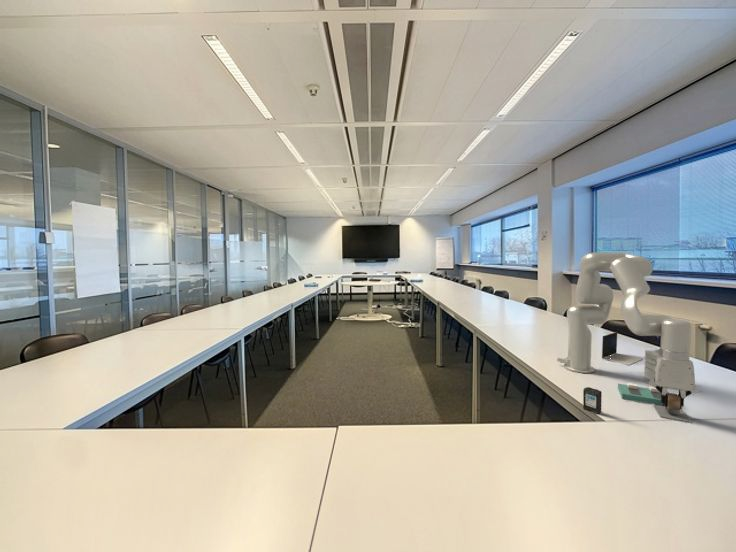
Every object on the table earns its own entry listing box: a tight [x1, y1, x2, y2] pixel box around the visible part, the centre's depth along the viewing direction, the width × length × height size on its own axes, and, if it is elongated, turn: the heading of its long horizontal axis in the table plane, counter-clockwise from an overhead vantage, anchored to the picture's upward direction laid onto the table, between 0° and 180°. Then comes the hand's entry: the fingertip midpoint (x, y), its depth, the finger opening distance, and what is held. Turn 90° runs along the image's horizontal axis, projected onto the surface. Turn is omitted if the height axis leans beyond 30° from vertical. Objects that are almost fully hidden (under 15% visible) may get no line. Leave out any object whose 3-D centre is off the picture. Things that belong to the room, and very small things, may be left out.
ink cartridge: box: [582, 386, 602, 415], centre depth 118 cm, size 5×2×8 cm, turn 32°
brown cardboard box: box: [664, 392, 681, 415], centre depth 115 cm, size 3×4×6 cm
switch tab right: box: [649, 385, 660, 393], centre depth 130 cm, size 3×2×1 cm
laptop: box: [601, 331, 643, 366], centre depth 178 cm, size 18×12×13 cm
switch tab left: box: [627, 382, 639, 389], centre depth 134 cm, size 3×2×1 cm
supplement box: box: [643, 350, 660, 381], centre depth 147 cm, size 7×7×13 cm
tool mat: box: [652, 404, 693, 424], centre depth 116 cm, size 8×10×1 cm
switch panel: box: [617, 383, 670, 407], centre depth 130 cm, size 16×12×2 cm
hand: (671, 406), depth 116 cm, fingers closed on brown cardboard box, 3 cm apart
